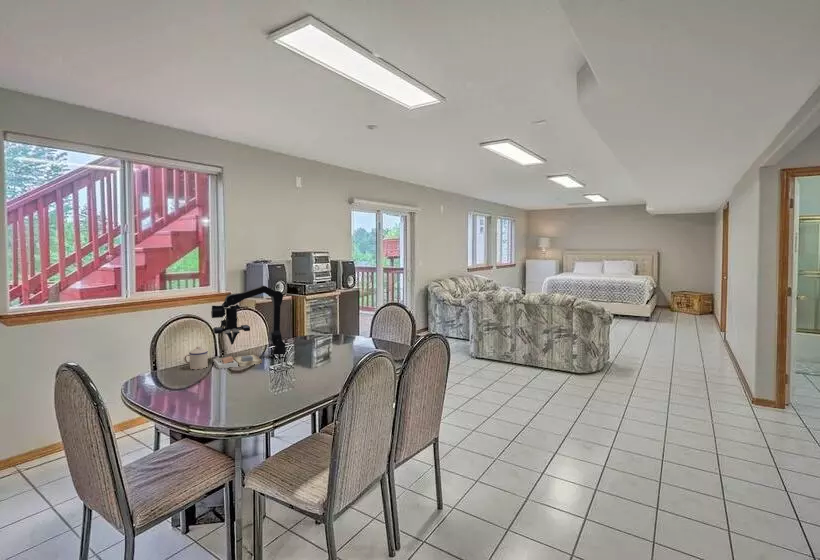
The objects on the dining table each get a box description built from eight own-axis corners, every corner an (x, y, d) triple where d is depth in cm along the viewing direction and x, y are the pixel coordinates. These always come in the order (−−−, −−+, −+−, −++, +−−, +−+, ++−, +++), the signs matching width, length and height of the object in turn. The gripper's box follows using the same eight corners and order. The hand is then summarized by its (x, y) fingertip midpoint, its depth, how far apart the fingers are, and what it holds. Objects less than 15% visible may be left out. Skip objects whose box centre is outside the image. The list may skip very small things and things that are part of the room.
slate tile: (250, 358, 246) (250, 355, 246) (252, 360, 242) (252, 357, 242) (241, 359, 243) (241, 356, 243) (243, 361, 239) (243, 358, 239)
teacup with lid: (210, 365, 239) (210, 344, 238) (204, 370, 230) (203, 348, 229) (188, 365, 238) (187, 344, 237) (180, 370, 228) (180, 348, 228)
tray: (232, 360, 249) (231, 356, 249) (238, 366, 236) (238, 362, 236) (213, 363, 244) (213, 358, 244) (218, 369, 231) (218, 364, 230)
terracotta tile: (231, 359, 247) (230, 355, 247) (233, 360, 243) (232, 357, 242) (222, 361, 244) (221, 358, 244) (224, 363, 240) (223, 360, 240)
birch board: (254, 357, 256) (254, 354, 256) (261, 363, 243) (261, 360, 243) (232, 360, 250) (232, 357, 250) (239, 366, 236) (239, 363, 236)
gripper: (245, 314, 256) (245, 340, 256) (211, 316, 245) (211, 343, 246) (250, 316, 246) (250, 343, 247) (214, 318, 236) (215, 347, 237)
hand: (232, 344), depth 245 cm, fingers closed
